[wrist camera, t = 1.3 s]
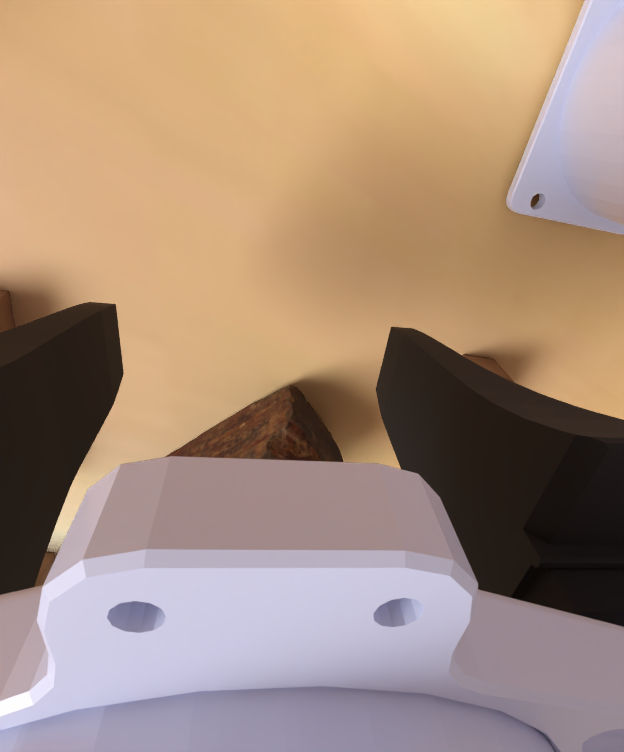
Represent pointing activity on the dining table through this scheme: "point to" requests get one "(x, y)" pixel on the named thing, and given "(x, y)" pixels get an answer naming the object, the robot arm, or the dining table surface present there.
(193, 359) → the dining table surface
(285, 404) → the brick
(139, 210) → the dining table surface
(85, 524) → the robot arm
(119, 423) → the dining table surface
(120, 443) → the dining table surface
